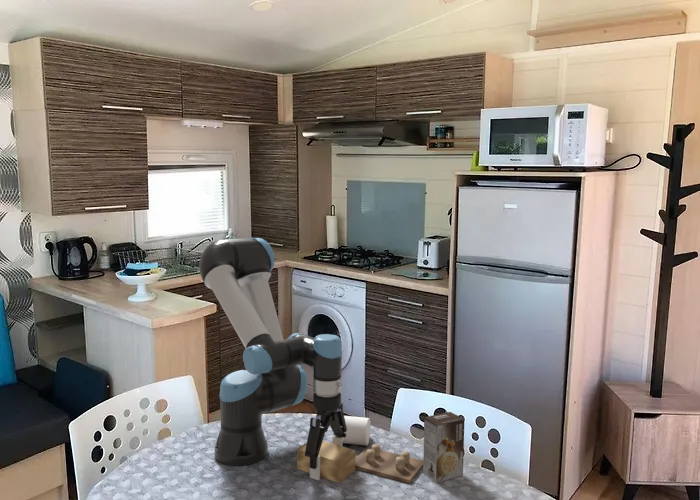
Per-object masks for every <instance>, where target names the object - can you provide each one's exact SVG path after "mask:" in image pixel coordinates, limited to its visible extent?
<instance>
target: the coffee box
mask: <svg viewBox="0 0 700 500" xmlns="http://www.w3.org/2000/svg"><path fill="white" fill-rule="evenodd" d="M423 423H424V424H423V458H422V460H423V468H422V470H423V471H422V473H423V474H424V475H425V476H427V477H428V478H429V479H430V480H432V481H433V482H434V483H436V484H437V483H440V482H444V481H448V480H451V479H456V478H459V477H462V476H464V454H465V453H464V448H465V418H463V417H460V416H459V415H457V413H456V414H455V413H454V412H452V411H447V412H443V413H438V414H433V415H428V416H425V417H423Z"/></svg>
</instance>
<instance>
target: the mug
mask: <svg viewBox="0 0 700 500" xmlns="http://www.w3.org/2000/svg"><path fill="white" fill-rule="evenodd" d="M344 418H345V423H346V427H347V431H346V432H344V433H346V437H345V438H344V437H342V444H348V445H358V446H365V447H368V445H369V442H370V436H371V418H370V417H362V416H360V417H359V416H352V415H351V416H350V415H344ZM341 427H342V426H341ZM332 435H333V436H336V435H334V433H333V434H332ZM333 436H332V437H333Z"/></svg>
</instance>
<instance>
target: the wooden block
mask: <svg viewBox="0 0 700 500" xmlns="http://www.w3.org/2000/svg"><path fill="white" fill-rule="evenodd" d="M306 445H307V442H305V443H304V444H302V445H300V446H298V448H296V469H298V470H300V471H303V472H306V473H309V474H310V457H307V456H305V450H306ZM356 455H357V451H356V450H355V449H352V448H348V447H345V446H343V445H342V446H339V445H336V444H333V442H329V441H325V440H323V441H322V445H321V448H320V451H319V456H320V478H324V479H326V480H329V481H332V482H335V483H338V484H340V483H341V482H343V481H344V480H346V478H348V477H349V476H350V475H352V474H353V473H355V471H356V469H355V464H356V457H357V456H356Z"/></svg>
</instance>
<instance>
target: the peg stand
mask: <svg viewBox="0 0 700 500" xmlns="http://www.w3.org/2000/svg"><path fill="white" fill-rule="evenodd" d="M355 470H358V471H362V472H366V473H369V474H373V475H377V476H381V477H383V478H387V479H391V480H395V481H398V482H402V483H406V484H409V485H410V484H411V483H412V482H413V481H414V479H415V478H416V477H417V476H418V475H419V473H420V472H421V470H423V459H420V458H419V459H418V458H416V457H412V456H411V453H410V451H406V450H404V451H401V452H400V454H399V453H395V452H391V451H387V450H382V449H381V445H380V444H378V443H375V444H372V445H371V447H370V446H366V448H365V449H364V450H362V451H361V453H359V454H358V455H357V456H356V464H355Z"/></svg>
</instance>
